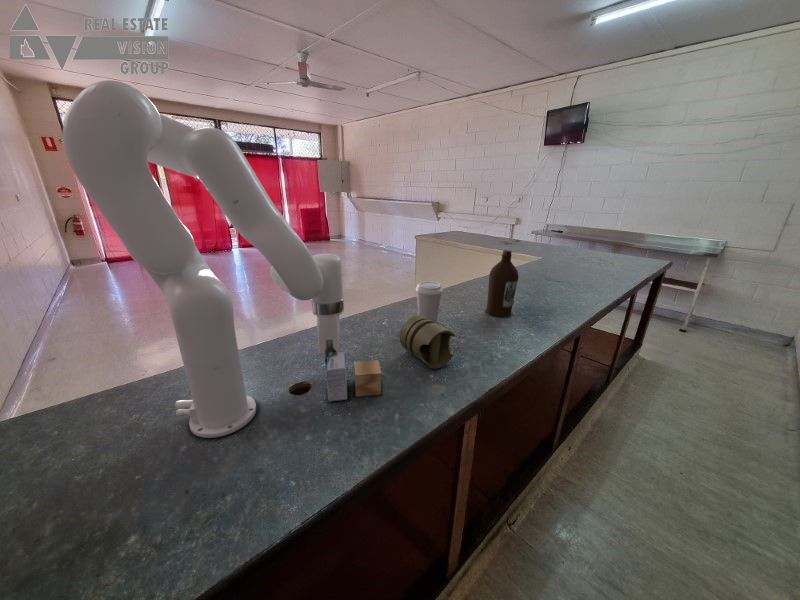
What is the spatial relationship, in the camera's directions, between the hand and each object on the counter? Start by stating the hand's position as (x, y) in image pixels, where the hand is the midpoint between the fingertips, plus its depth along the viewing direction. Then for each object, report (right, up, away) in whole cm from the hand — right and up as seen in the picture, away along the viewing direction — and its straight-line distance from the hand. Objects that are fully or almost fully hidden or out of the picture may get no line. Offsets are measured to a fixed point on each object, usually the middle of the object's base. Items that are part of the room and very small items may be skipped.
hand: (332, 370), depth 83 cm
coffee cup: (+28, +10, +32) cm, 43 cm away
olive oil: (+57, +13, +43) cm, 73 cm away
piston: (+25, +1, +9) cm, 27 cm away
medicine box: (+3, -4, -6) cm, 7 cm away
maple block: (+10, -3, -5) cm, 11 cm away
